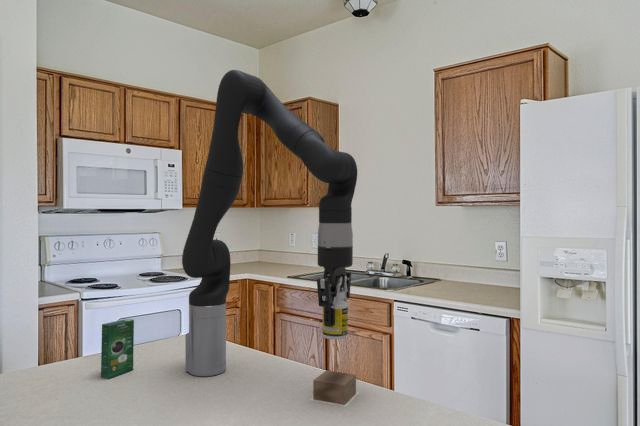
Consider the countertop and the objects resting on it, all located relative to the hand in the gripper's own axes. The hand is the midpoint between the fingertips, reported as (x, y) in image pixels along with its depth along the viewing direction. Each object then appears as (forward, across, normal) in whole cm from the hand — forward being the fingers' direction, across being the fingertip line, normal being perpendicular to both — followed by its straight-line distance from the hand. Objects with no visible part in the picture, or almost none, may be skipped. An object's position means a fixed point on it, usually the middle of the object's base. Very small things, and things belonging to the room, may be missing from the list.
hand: (334, 322), depth 105 cm
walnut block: (+16, 0, 0) cm, 16 cm away
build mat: (+17, -2, -2) cm, 17 cm away
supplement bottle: (+3, 0, 0) cm, 3 cm away
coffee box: (+17, +6, -56) cm, 59 cm away
